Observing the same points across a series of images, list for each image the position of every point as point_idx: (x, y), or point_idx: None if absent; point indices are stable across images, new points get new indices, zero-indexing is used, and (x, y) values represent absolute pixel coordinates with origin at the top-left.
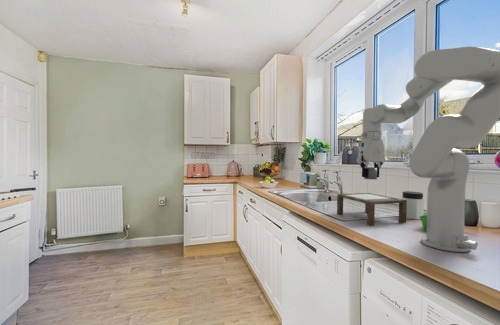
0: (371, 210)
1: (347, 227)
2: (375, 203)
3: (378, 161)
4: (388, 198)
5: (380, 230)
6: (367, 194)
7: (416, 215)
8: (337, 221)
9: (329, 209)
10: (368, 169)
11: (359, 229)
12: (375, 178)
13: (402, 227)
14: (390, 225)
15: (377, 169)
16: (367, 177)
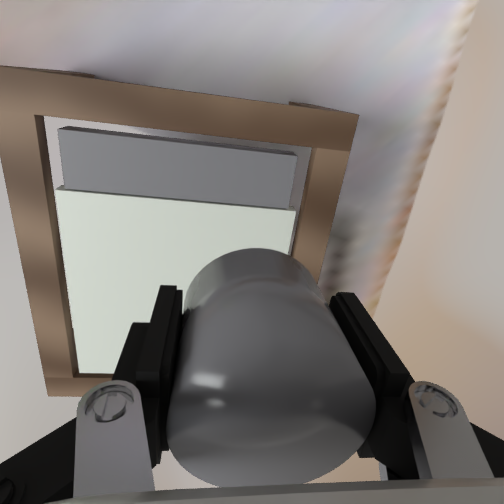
0: (332, 109)
1: (423, 133)
2: (314, 108)
3: (208, 493)
4: (80, 191)
5: (336, 20)
6: (104, 356)
7: None
8: (373, 228)
9: None
10: (376, 362)
11: (408, 82)
12: (252, 253)
13: (171, 8)
14: (201, 71)
15: (170, 367)
16: (336, 295)
